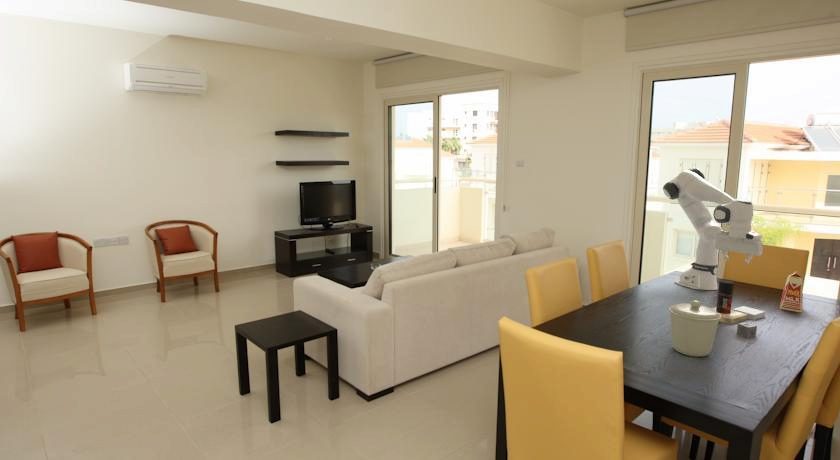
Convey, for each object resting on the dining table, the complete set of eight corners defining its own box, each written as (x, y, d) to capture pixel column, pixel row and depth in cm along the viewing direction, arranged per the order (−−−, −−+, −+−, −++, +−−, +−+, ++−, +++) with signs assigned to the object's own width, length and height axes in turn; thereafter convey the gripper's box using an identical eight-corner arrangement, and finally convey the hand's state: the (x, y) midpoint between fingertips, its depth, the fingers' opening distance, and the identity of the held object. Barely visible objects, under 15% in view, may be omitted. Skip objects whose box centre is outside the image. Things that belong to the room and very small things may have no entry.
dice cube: (736, 334, 217) (737, 323, 217) (744, 333, 219) (746, 322, 218) (747, 338, 213) (748, 327, 212) (755, 337, 215) (757, 326, 214)
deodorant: (726, 310, 241) (730, 280, 239) (732, 314, 235) (736, 283, 233) (713, 309, 242) (717, 279, 240) (719, 313, 236) (722, 283, 234)
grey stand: (732, 313, 244) (732, 309, 244) (742, 310, 250) (743, 306, 249) (754, 320, 236) (754, 314, 236) (764, 316, 241) (765, 311, 241)
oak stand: (701, 315, 242) (701, 310, 241) (717, 311, 249) (717, 305, 248) (731, 324, 230) (731, 318, 229) (747, 319, 237) (747, 314, 236)
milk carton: (802, 312, 248) (807, 273, 245) (779, 308, 253) (784, 270, 250) (802, 308, 255) (807, 270, 252) (780, 304, 260) (785, 267, 257)
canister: (671, 339, 211) (676, 291, 207) (720, 350, 199) (726, 300, 196) (660, 352, 197) (664, 301, 193) (712, 365, 185) (718, 311, 182)
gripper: (713, 230, 246) (710, 258, 248) (759, 237, 229) (756, 266, 231) (720, 229, 249) (717, 256, 251) (766, 235, 232) (762, 264, 234)
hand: (736, 261), depth 241 cm, fingers open, 8 cm apart
